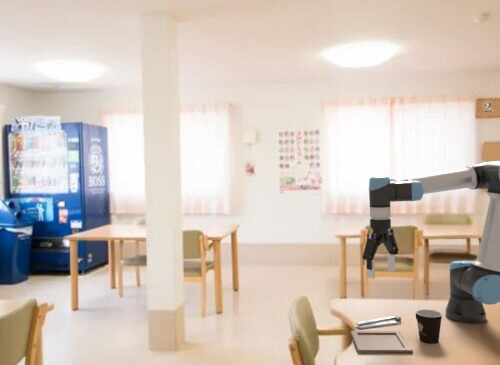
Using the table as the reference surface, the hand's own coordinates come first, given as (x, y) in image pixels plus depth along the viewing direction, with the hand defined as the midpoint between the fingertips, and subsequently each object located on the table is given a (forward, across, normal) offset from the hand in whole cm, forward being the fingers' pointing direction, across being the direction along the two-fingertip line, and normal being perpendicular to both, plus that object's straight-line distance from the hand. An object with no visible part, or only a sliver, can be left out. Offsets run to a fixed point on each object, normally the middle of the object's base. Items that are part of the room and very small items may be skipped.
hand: (381, 274), depth 179 cm
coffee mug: (+23, -6, +15) cm, 28 cm away
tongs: (+22, -6, -6) cm, 24 cm away
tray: (+22, +10, +5) cm, 25 cm away
